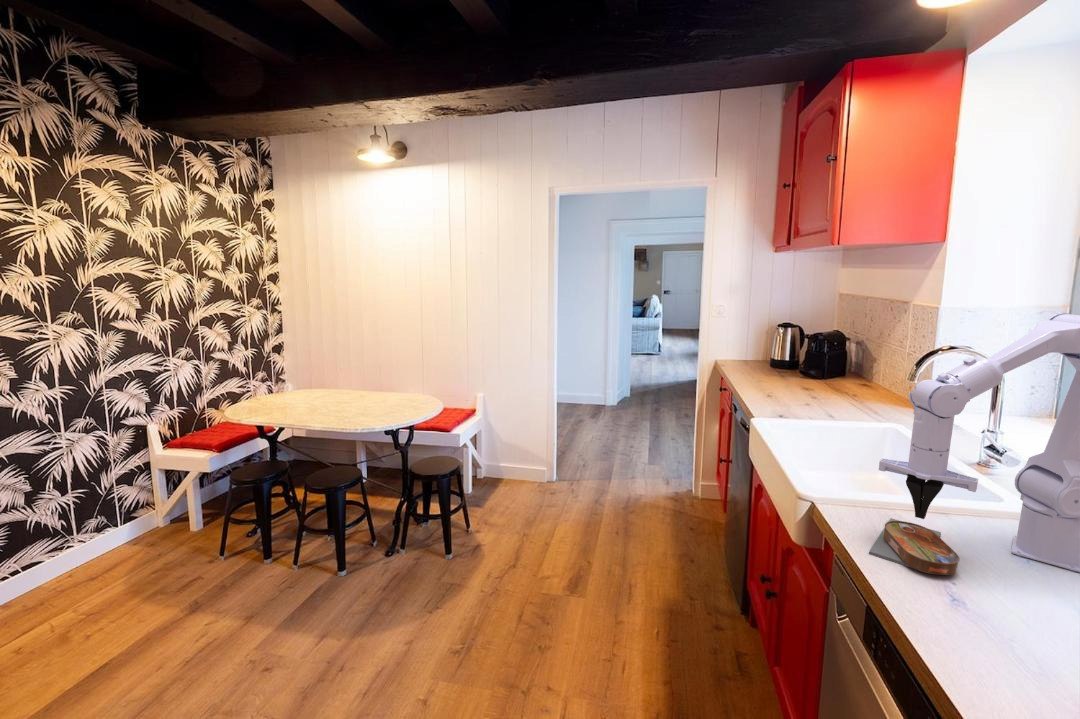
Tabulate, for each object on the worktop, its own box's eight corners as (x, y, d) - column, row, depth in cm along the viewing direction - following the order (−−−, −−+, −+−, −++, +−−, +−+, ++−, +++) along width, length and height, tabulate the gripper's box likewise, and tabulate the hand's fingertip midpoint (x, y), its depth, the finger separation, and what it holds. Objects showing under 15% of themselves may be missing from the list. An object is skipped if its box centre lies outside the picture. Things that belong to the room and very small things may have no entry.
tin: (970, 566, 89) (914, 557, 90) (965, 583, 89) (910, 573, 91) (925, 523, 103) (877, 515, 105) (921, 537, 104) (874, 530, 105)
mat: (940, 534, 105) (940, 532, 105) (924, 571, 92) (924, 569, 92) (890, 520, 111) (890, 518, 111) (868, 553, 98) (869, 551, 98)
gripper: (878, 442, 98) (870, 511, 101) (979, 462, 88) (967, 537, 91) (887, 433, 103) (879, 499, 106) (983, 451, 93) (972, 523, 96)
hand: (920, 516), depth 99 cm, fingers closed
